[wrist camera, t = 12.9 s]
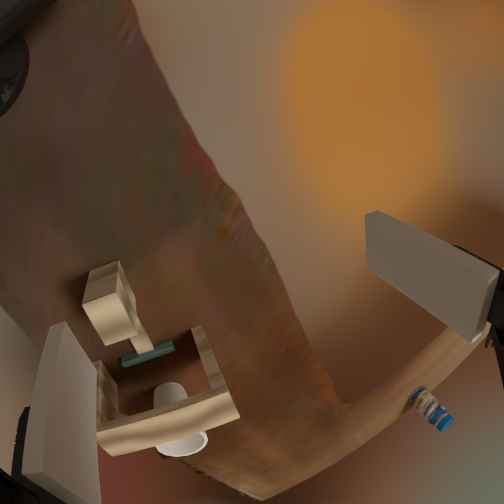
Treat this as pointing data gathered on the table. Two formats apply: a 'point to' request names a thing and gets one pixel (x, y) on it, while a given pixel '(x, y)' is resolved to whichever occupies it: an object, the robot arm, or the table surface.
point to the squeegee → (118, 314)
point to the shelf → (162, 410)
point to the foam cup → (185, 445)
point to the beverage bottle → (430, 409)
